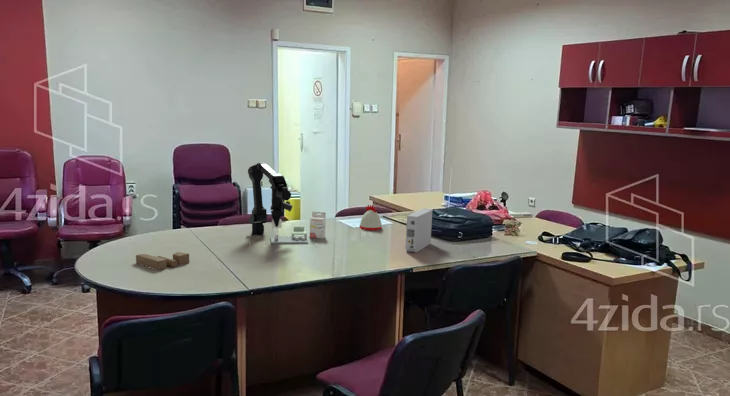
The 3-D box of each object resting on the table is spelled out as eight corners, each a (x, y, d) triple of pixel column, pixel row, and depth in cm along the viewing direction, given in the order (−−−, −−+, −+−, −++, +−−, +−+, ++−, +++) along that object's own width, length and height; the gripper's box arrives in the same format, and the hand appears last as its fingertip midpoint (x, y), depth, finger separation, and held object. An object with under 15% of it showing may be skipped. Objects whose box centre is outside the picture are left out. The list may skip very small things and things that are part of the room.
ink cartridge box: (309, 237, 315) (309, 212, 312) (311, 235, 319) (311, 211, 317) (324, 238, 314) (324, 213, 311) (325, 236, 319) (326, 212, 316)
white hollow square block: (272, 228, 299) (272, 221, 298) (271, 226, 304) (272, 219, 303) (281, 228, 300) (281, 221, 299) (281, 226, 305) (281, 219, 304)
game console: (431, 243, 313) (433, 209, 310) (415, 253, 288) (417, 216, 285) (421, 242, 315) (423, 208, 312) (405, 252, 291) (407, 215, 287)
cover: (292, 238, 306) (292, 229, 305) (291, 235, 312) (291, 226, 311) (306, 238, 307) (307, 229, 306) (305, 235, 314) (305, 226, 313)
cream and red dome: (368, 224, 357) (369, 202, 355) (385, 228, 349) (386, 205, 347) (355, 228, 346) (356, 204, 344) (373, 231, 338) (374, 207, 336)
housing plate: (271, 244, 296) (271, 237, 296) (270, 238, 310) (270, 231, 309) (308, 243, 301) (308, 236, 300) (305, 237, 314) (305, 231, 314)
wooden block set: (159, 259, 241) (134, 252, 251) (159, 272, 242) (135, 264, 252) (190, 252, 255) (166, 245, 265) (190, 263, 256) (166, 257, 265)
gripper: (293, 200, 292) (292, 229, 294) (290, 195, 310) (289, 222, 312) (271, 200, 289) (271, 229, 292) (270, 195, 307) (270, 222, 310)
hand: (276, 225), depth 302 cm, fingers closed on white hollow square block, 5 cm apart
